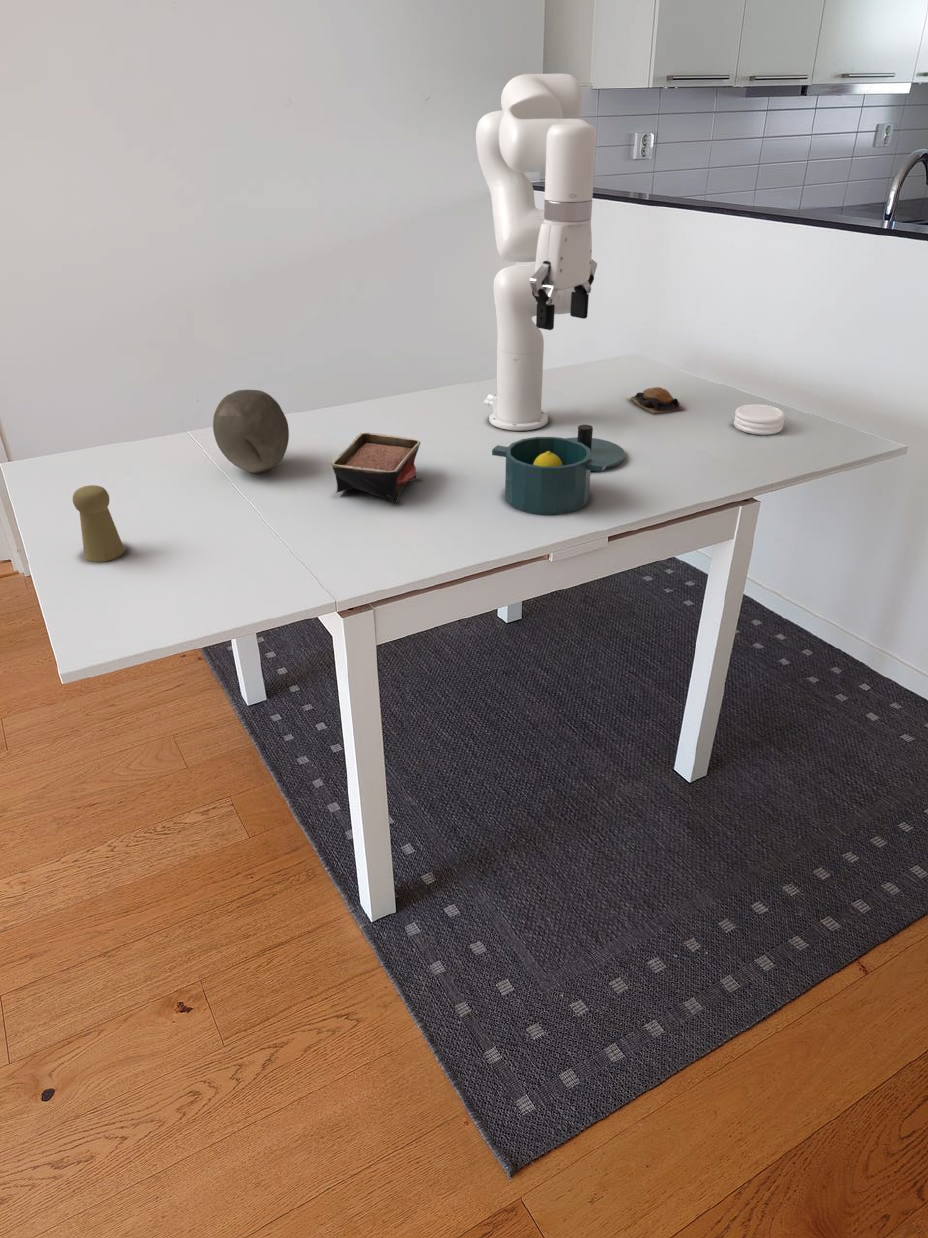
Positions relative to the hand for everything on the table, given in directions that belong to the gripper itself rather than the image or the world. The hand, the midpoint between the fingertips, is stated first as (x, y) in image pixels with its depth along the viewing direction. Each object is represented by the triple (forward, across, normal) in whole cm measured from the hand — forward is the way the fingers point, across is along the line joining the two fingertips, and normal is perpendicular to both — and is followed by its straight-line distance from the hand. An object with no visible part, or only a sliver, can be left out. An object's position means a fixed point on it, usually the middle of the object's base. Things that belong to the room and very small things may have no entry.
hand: (562, 322), depth 150 cm
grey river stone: (+28, +33, -46) cm, 63 cm away
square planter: (+28, +24, -22) cm, 43 cm away
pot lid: (+28, -12, -2) cm, 30 cm away
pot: (+28, +8, +4) cm, 29 cm away
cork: (+28, +70, -37) cm, 84 cm away
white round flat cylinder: (+28, -49, +17) cm, 59 cm away
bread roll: (+28, -48, -7) cm, 56 cm away
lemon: (+28, +8, +4) cm, 29 cm away
